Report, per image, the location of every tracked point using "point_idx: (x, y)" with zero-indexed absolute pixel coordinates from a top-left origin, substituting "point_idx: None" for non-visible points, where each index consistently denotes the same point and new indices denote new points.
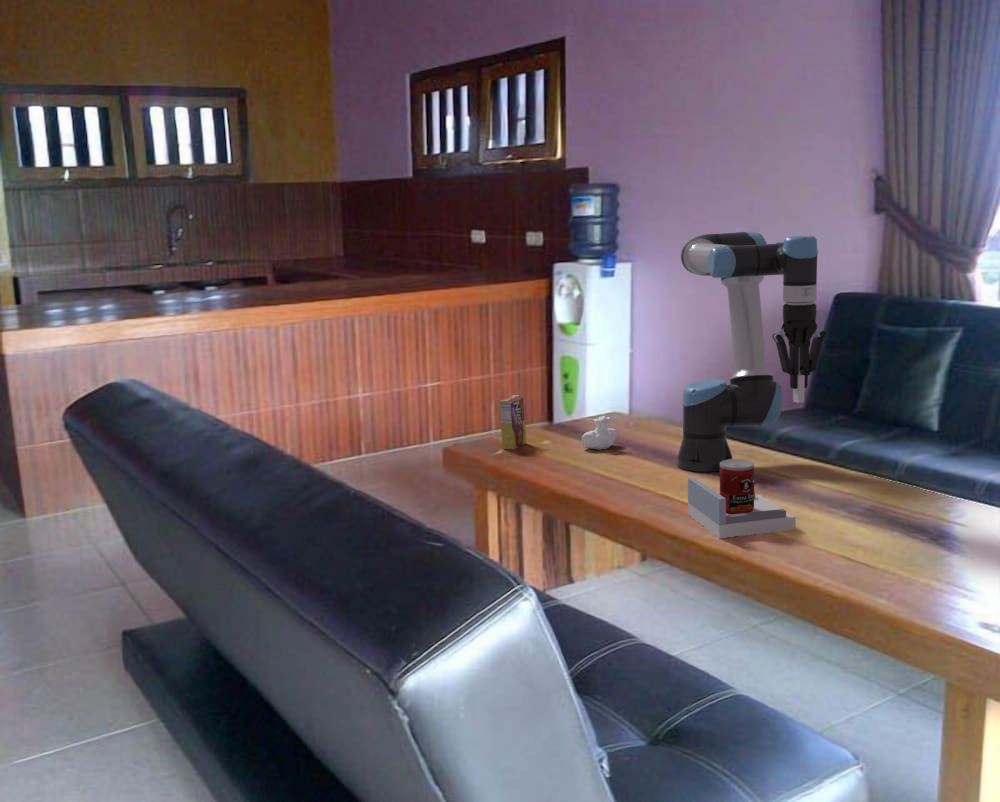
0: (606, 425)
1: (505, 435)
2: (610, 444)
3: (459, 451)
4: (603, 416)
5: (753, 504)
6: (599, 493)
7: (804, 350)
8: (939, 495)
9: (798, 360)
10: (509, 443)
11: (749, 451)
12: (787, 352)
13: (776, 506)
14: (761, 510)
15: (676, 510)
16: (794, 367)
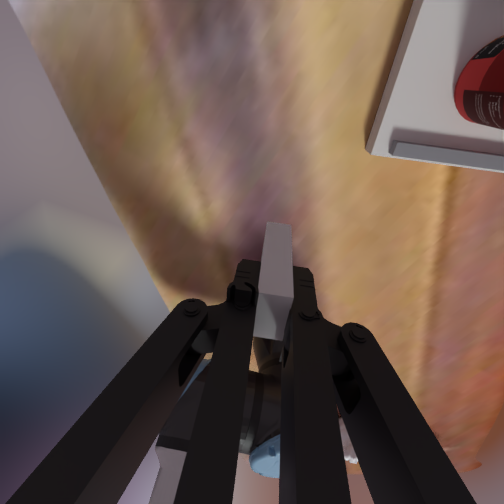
0: (352, 446)
1: None
2: (339, 421)
3: (471, 464)
4: (351, 461)
5: (490, 44)
6: (498, 313)
7: (233, 473)
8: (35, 51)
9: (297, 387)
10: None
11: (207, 353)
12: (424, 499)
13: (406, 61)
14: (457, 47)
15: (491, 199)
16: (323, 348)
